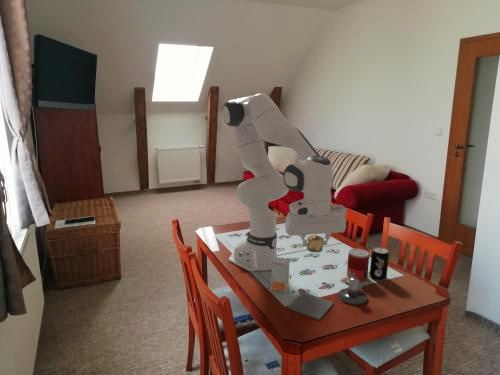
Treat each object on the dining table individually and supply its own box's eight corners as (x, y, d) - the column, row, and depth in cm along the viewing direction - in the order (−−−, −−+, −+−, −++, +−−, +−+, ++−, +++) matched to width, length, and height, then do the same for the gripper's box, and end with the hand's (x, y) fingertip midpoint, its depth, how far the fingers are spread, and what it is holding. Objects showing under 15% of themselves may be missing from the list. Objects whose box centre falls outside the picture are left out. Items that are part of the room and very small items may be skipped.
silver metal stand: (334, 299, 135) (335, 280, 133) (344, 287, 142) (345, 269, 141) (361, 308, 129) (363, 288, 127) (370, 295, 137) (372, 277, 135)
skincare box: (270, 289, 141) (271, 260, 138) (273, 284, 145) (274, 256, 142) (286, 292, 139) (287, 263, 136) (288, 287, 143) (289, 258, 140)
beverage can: (368, 279, 149) (371, 251, 146) (370, 272, 155) (372, 245, 152) (386, 282, 147) (389, 254, 144) (386, 275, 153) (389, 248, 150)
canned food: (368, 282, 146) (370, 257, 144) (347, 280, 148) (349, 255, 145) (366, 273, 154) (368, 249, 151) (346, 271, 155) (348, 247, 152)
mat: (287, 308, 129) (287, 306, 129) (303, 293, 138) (303, 292, 138) (319, 320, 122) (319, 318, 122) (333, 303, 132) (333, 302, 131)
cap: (304, 246, 127) (305, 234, 126) (319, 245, 128) (319, 233, 127) (309, 252, 122) (310, 240, 121) (324, 251, 123) (325, 239, 122)
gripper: (342, 201, 126) (339, 239, 129) (284, 204, 122) (283, 243, 126) (350, 207, 120) (347, 247, 123) (289, 210, 116) (288, 251, 120)
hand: (314, 245), depth 124 cm, fingers closed on cap, 5 cm apart
